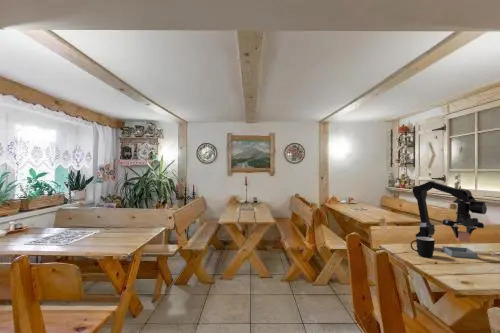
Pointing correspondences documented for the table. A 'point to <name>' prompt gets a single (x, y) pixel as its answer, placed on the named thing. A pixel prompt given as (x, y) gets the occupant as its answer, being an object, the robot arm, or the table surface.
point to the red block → (463, 236)
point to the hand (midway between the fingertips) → (462, 238)
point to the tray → (460, 252)
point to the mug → (424, 246)
